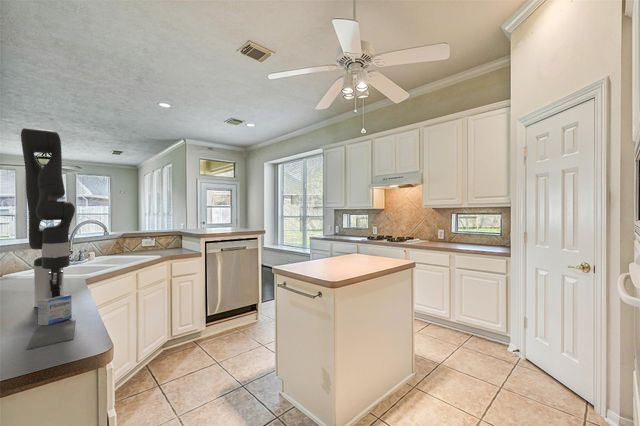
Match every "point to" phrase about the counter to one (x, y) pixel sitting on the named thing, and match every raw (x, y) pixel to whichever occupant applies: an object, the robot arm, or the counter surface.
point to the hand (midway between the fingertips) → (56, 300)
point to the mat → (52, 334)
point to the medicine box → (54, 310)
